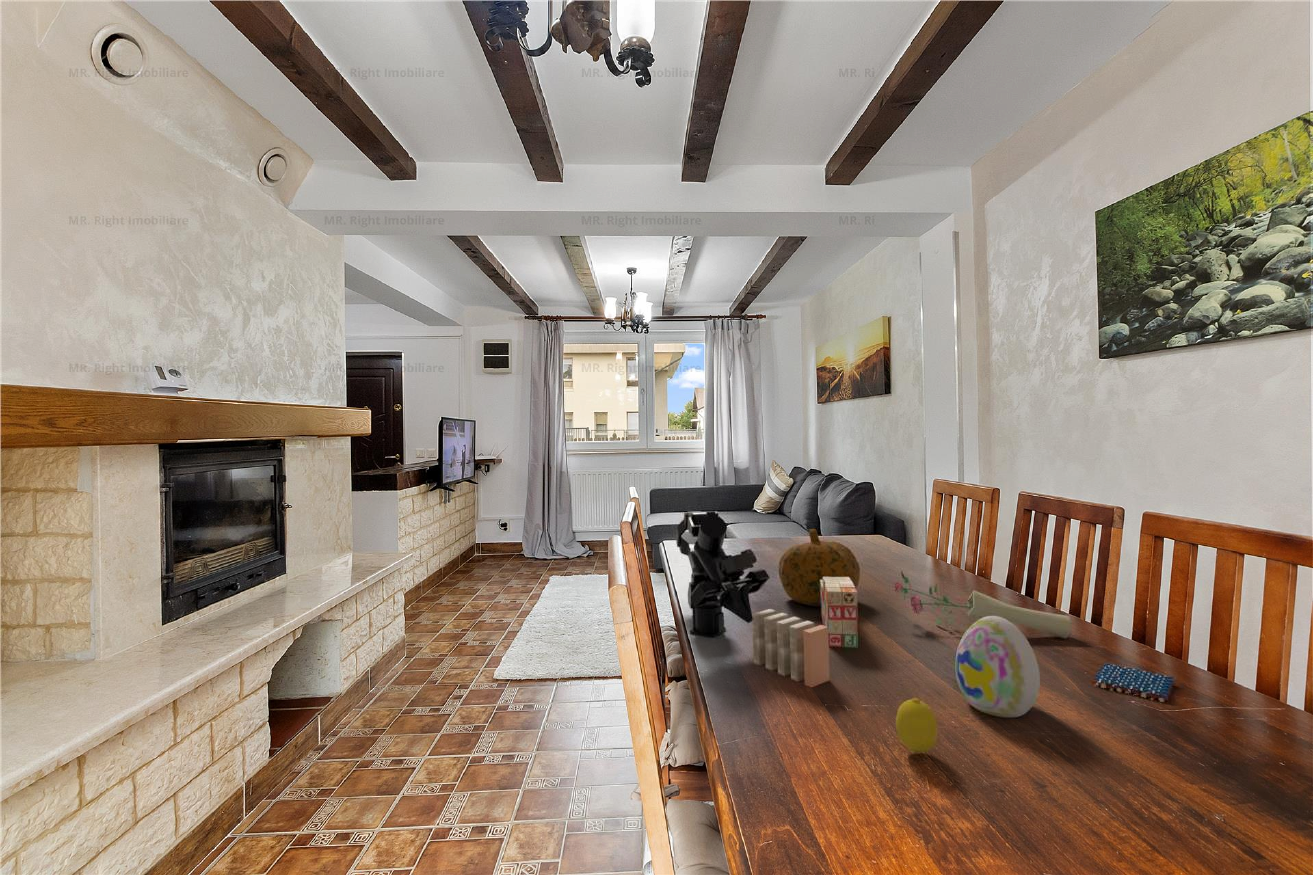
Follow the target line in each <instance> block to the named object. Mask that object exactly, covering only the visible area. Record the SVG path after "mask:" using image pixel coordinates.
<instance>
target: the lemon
mask: <svg viewBox="0 0 1313 875" xmlns="http://www.w3.org/2000/svg"><path fill="white" fill-rule="evenodd" d="M895 730H896V733H897V737H898V739H899V740H900V742H901V743H902V744H903V745H904V746H905V747H906V748H908V749H909V750H911V751H912V752H913V753H914V754H916V755H920V754H921V753H924V752H927V751H929V750H930V749H932V748H933V747H934V746H935V744H936V742H937V738H938V731H939V729H938V722H937V719H936V716H935V713H934V711H933V709H932V708H931V707H930V706H929V705H928V704H927V703H926V702H924V701H922V700H920V699H919V698H916V697H913V698H911V699H908V700H906V701H903V703H901V704H900V705H899V707H898V709H897V713H896V717H895Z"/></svg>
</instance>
